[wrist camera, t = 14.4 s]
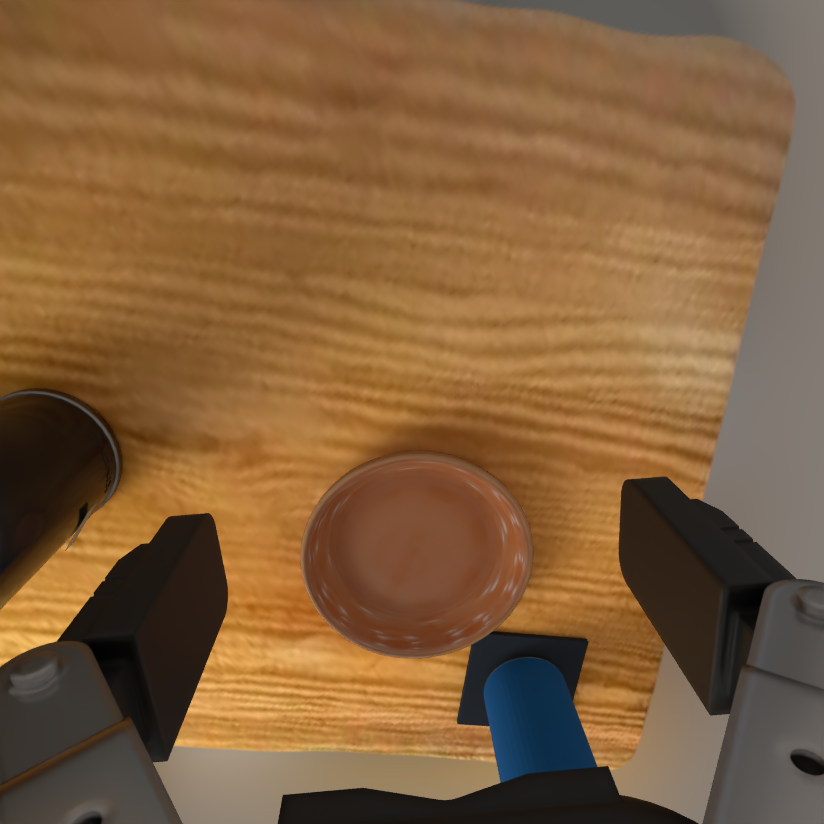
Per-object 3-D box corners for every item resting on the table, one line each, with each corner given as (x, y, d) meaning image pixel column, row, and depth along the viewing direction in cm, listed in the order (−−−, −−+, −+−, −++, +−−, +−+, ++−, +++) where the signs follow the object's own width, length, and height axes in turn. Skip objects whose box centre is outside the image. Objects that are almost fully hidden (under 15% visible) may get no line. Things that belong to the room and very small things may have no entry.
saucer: (324, 420, 41) (319, 436, 38) (550, 461, 42) (562, 479, 39) (290, 616, 46) (284, 643, 43) (494, 645, 47) (501, 673, 44)
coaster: (456, 720, 49) (457, 724, 49) (474, 629, 47) (474, 633, 46) (563, 727, 50) (564, 731, 50) (586, 638, 47) (588, 642, 47)
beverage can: (490, 722, 49) (521, 877, 38) (474, 660, 47) (502, 804, 36) (568, 705, 49) (623, 856, 38) (556, 642, 47) (610, 781, 35)
